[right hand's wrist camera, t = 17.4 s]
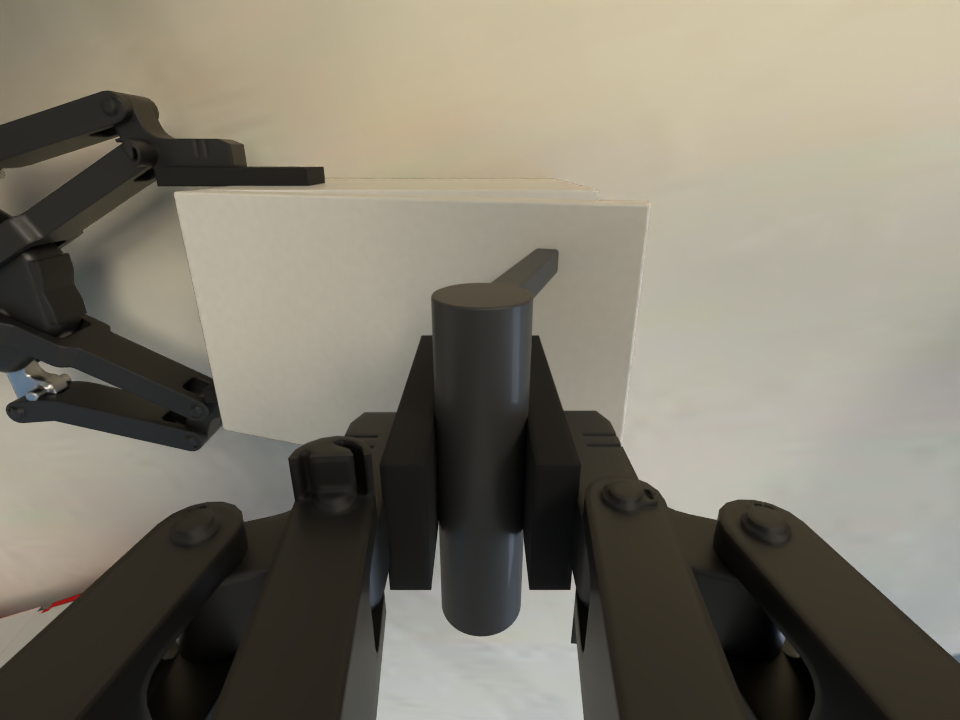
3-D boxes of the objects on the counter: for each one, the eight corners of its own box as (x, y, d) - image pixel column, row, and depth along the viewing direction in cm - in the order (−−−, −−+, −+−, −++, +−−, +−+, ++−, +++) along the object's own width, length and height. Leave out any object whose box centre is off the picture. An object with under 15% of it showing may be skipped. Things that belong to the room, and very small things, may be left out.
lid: (651, 200, 15) (644, 245, 7) (617, 484, 18) (588, 709, 11) (200, 189, 19) (-85, 210, 12) (244, 416, 23) (47, 540, 16)
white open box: (555, 178, 30) (598, 190, 20) (547, 335, 34) (579, 414, 23) (293, 178, 30) (196, 189, 19) (313, 335, 33) (240, 415, 23)
